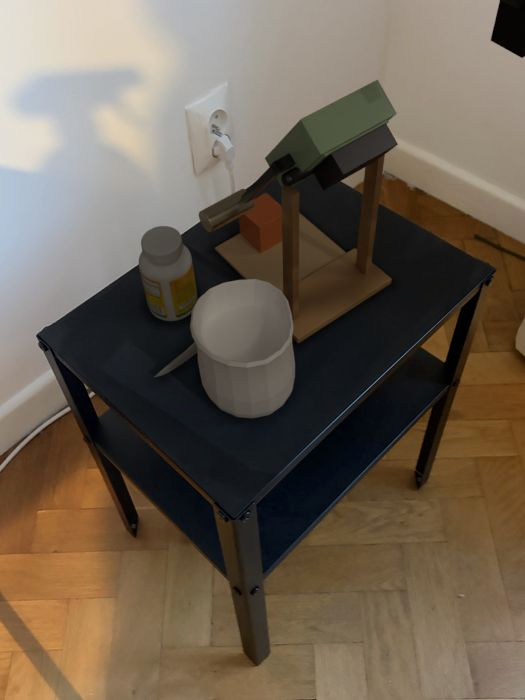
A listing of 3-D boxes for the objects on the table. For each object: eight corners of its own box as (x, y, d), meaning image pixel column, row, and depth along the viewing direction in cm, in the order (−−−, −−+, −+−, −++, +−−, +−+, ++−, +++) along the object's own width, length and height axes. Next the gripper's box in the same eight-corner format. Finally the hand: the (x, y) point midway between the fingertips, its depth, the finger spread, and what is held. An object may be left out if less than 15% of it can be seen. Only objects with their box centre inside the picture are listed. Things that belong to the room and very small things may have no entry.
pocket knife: (255, 308, 78) (254, 296, 76) (260, 313, 77) (260, 300, 76) (152, 380, 73) (149, 368, 71) (157, 385, 72) (154, 374, 71)
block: (237, 208, 80) (259, 227, 78) (266, 192, 82) (288, 211, 80) (239, 234, 84) (260, 253, 82) (267, 218, 85) (288, 237, 83)
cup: (253, 324, 76) (248, 260, 68) (319, 383, 72) (322, 321, 64) (181, 375, 73) (167, 314, 65) (245, 440, 68) (239, 383, 60)
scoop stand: (262, 308, 78) (255, 179, 63) (354, 252, 82) (366, 119, 68) (298, 343, 75) (298, 216, 60) (391, 283, 79) (412, 151, 65)
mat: (346, 255, 82) (346, 253, 81) (268, 303, 78) (268, 300, 78) (290, 207, 87) (290, 204, 86) (214, 250, 83) (214, 247, 83)
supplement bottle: (147, 324, 77) (130, 261, 69) (150, 285, 80) (134, 222, 72) (198, 321, 77) (187, 258, 69) (199, 283, 80) (188, 219, 72)
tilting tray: (221, 258, 70) (192, 208, 69) (346, 186, 75) (319, 140, 75) (275, 212, 55) (239, 150, 55) (425, 128, 61) (393, 71, 60)
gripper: (672, -523, 33) (534, -11, 52) (472, -488, 29) (402, 57, 48) (835, -515, 30) (623, 33, 49) (634, -473, 25) (488, 110, 44)
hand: (513, 44), depth 48 cm, fingers closed
